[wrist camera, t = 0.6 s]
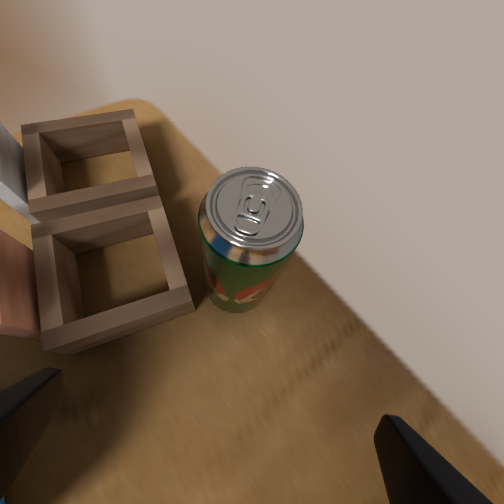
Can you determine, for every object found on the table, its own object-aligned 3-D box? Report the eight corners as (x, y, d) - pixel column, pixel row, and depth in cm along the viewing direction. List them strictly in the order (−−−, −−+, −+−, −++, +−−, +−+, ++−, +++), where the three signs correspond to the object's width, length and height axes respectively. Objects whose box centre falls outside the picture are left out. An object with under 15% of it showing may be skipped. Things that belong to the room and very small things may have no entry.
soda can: (271, 267, 23) (320, 180, 13) (255, 322, 21) (297, 274, 10) (218, 249, 24) (220, 146, 13) (196, 302, 21) (176, 233, 10)
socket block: (195, 310, 21) (188, 290, 16) (48, 362, 18) (-22, 360, 13) (142, 139, 27) (124, 82, 22) (27, 158, 25) (-26, 99, 19)
